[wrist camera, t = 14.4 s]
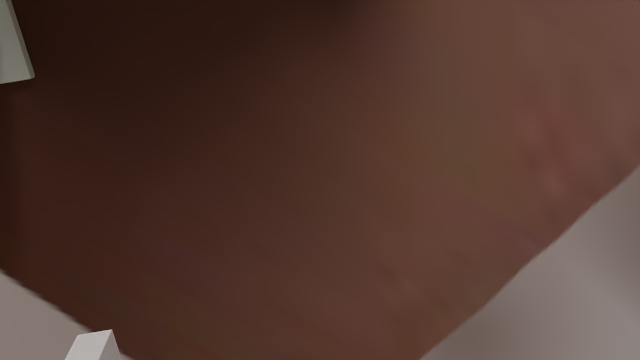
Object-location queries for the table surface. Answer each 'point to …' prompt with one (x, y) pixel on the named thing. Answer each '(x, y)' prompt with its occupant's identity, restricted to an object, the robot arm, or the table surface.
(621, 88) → the table surface
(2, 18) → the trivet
